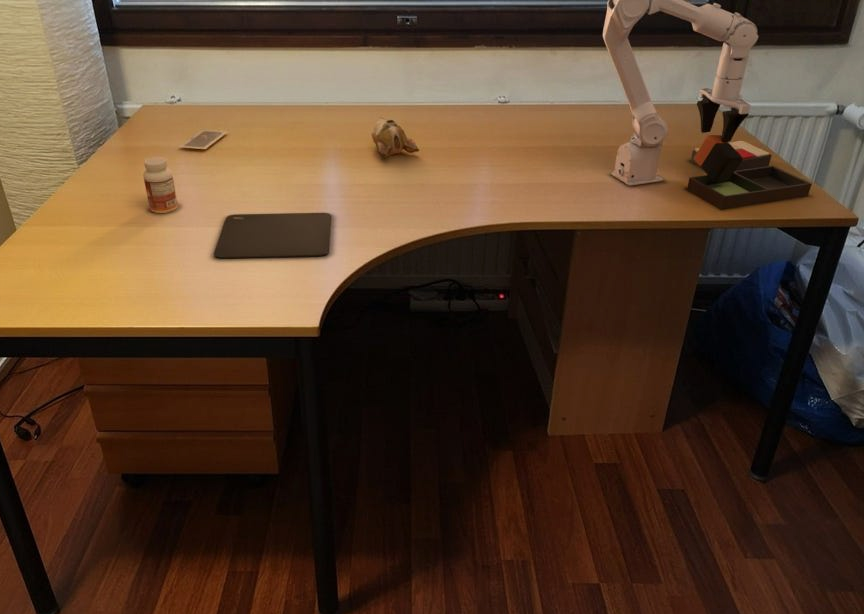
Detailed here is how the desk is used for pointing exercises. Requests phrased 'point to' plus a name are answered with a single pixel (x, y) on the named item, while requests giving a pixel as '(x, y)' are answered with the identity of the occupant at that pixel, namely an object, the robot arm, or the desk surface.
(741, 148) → the red and cream box
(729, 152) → the battery
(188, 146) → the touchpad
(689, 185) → the organizer
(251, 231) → the mouse pad
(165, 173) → the pill bottle
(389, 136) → the ceramic sculpture
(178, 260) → the desk surface
